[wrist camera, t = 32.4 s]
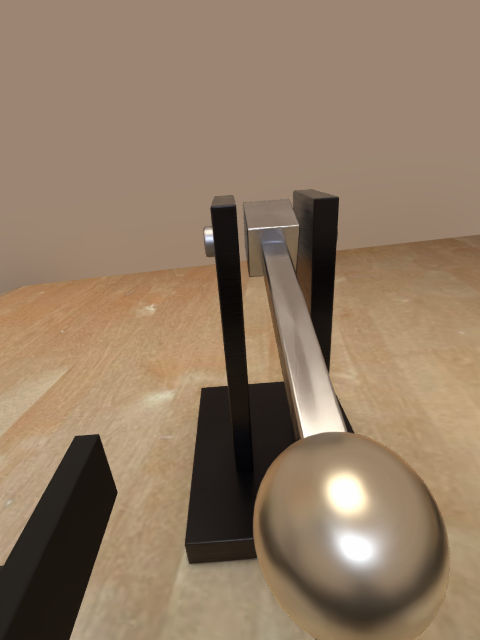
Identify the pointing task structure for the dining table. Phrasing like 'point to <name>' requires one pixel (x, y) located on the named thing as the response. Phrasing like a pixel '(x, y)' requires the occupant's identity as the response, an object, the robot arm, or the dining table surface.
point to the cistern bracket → (251, 385)
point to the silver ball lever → (336, 484)
